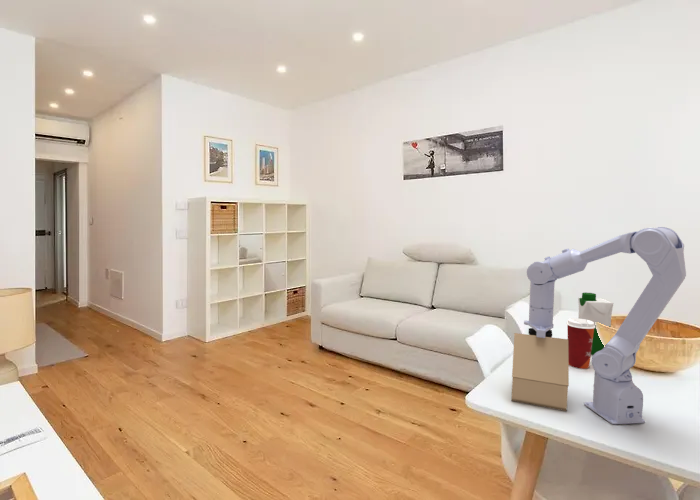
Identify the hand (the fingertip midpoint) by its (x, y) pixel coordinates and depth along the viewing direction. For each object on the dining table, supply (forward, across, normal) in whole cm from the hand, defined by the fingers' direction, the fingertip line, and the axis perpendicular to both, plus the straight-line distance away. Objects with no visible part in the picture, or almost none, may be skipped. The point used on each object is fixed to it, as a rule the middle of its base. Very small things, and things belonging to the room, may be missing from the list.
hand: (539, 356), depth 104 cm
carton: (+8, +6, 0) cm, 10 cm away
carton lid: (-2, +8, 0) cm, 9 cm away
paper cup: (+9, -23, +12) cm, 27 cm away
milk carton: (+9, -39, +17) cm, 43 cm away
